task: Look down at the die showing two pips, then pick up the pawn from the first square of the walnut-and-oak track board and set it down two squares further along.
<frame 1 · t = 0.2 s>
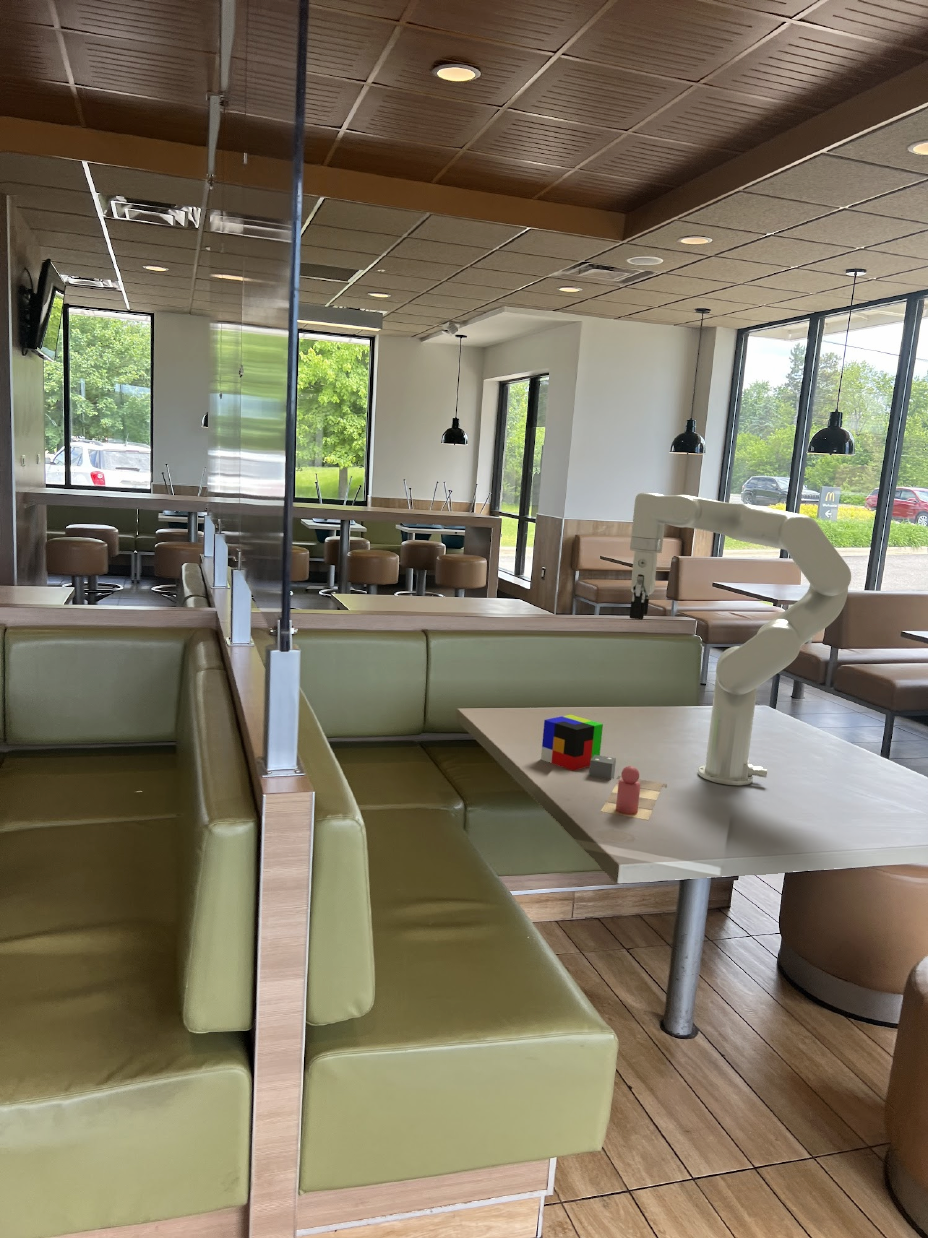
hand: (638, 616, 220), 36 cm above the table, tool pointing down, fingers open, 9 cm apart
pawn: (626, 811, 187), point 1 cm above the table, touching board
die: (601, 780, 209), on the table
puzzle toy: (569, 762, 222), on the table
board: (633, 802, 196), on the table
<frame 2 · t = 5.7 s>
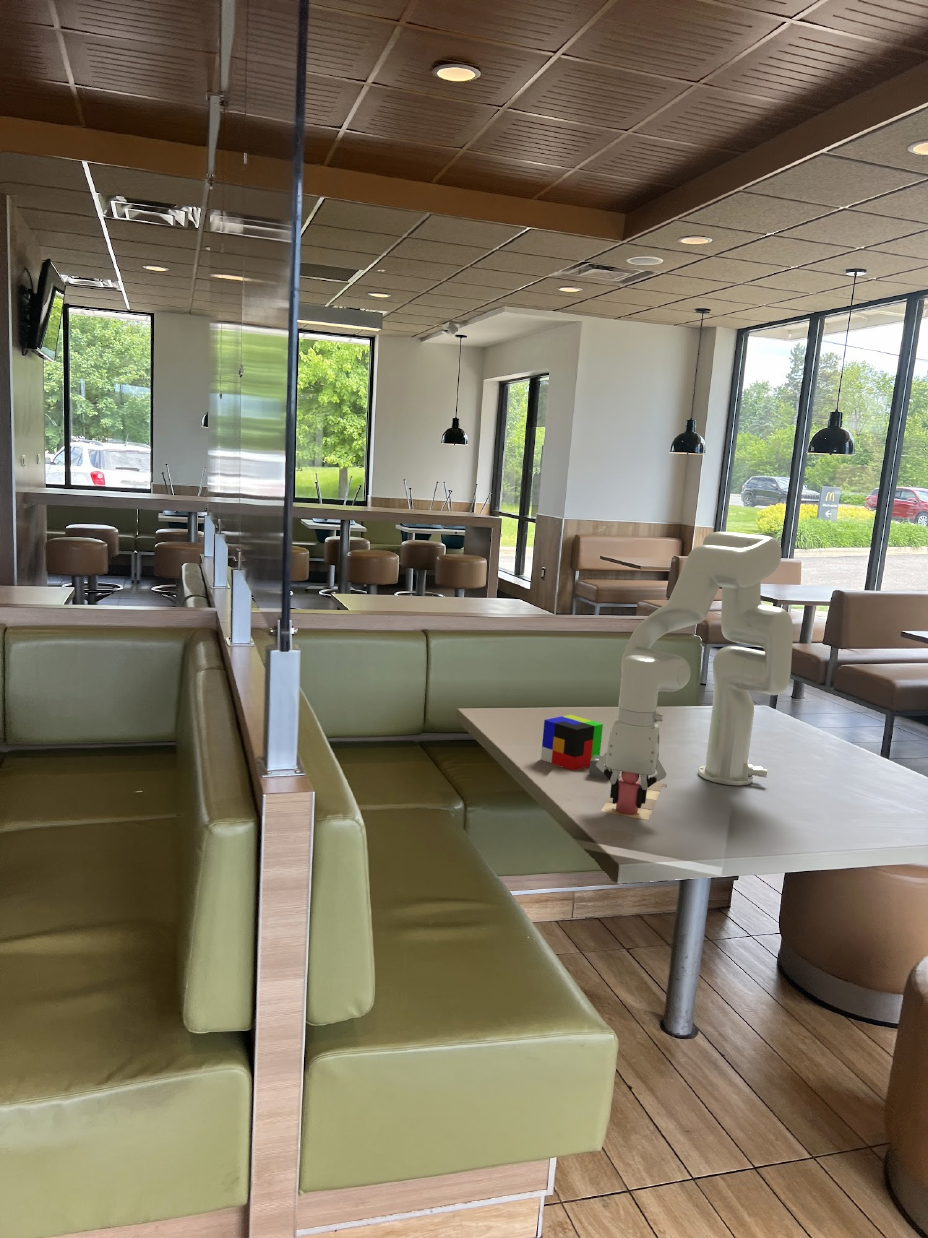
hand: (627, 803, 186), 3 cm above the table, tool pointing down, fingers closed on pawn, 4 cm apart
pawn: (626, 811, 187), point 1 cm above the table, touching board, gripper
everything else where it was.
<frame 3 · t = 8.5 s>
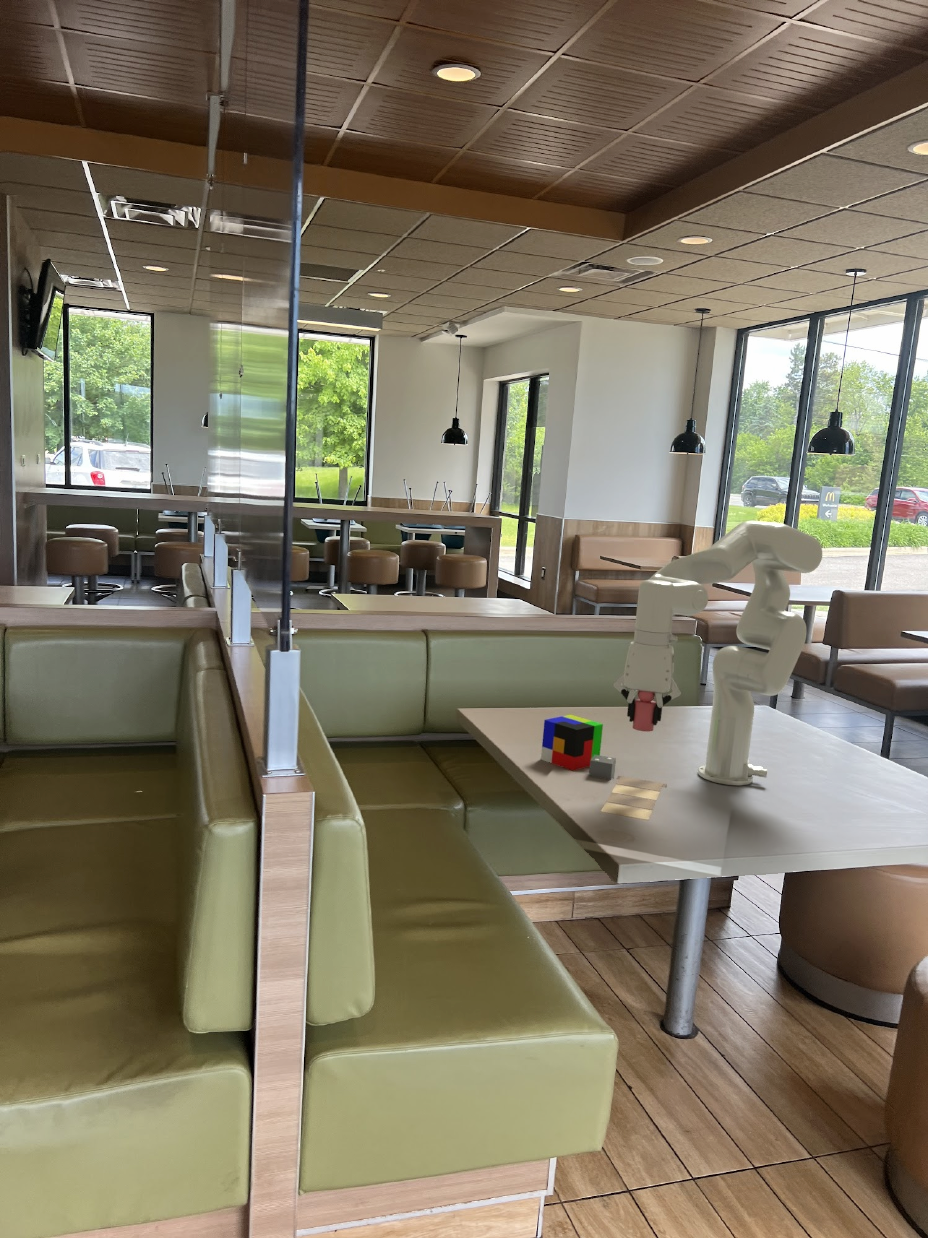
hand: (643, 721, 196), 17 cm above the table, tool pointing down, fingers closed on pawn, 4 cm apart
pawn: (642, 728, 197), point 15 cm above the table, touching gripper
everything else where it was.
when the fingers open (4 cm above the table, at t = 11.3 s): pawn stays where it is, resting on board.
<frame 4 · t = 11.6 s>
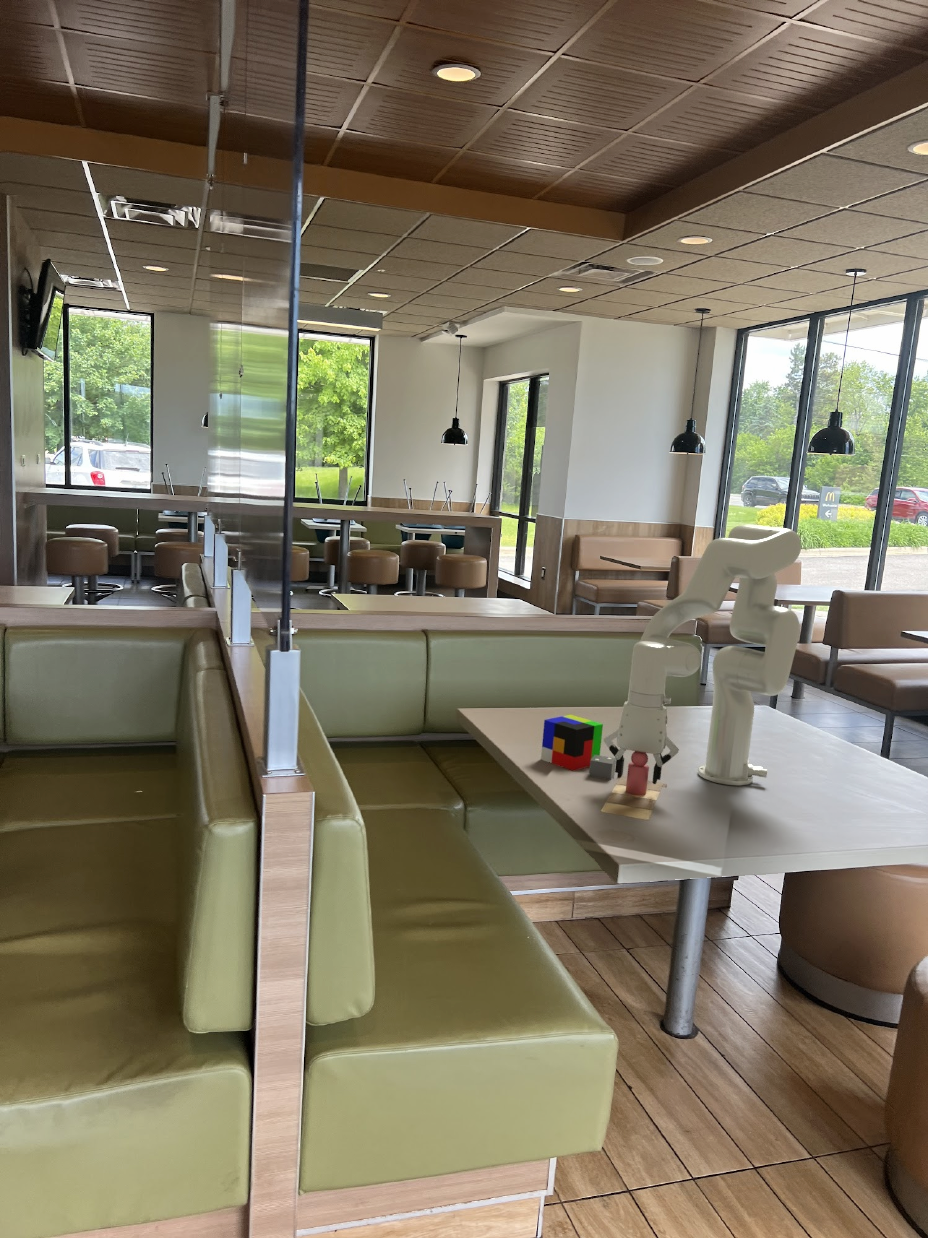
hand: (637, 778, 198), 4 cm above the table, tool pointing down, fingers open, 7 cm apart
pawn: (635, 792, 199), point 1 cm above the table, touching board
everything else where it was.
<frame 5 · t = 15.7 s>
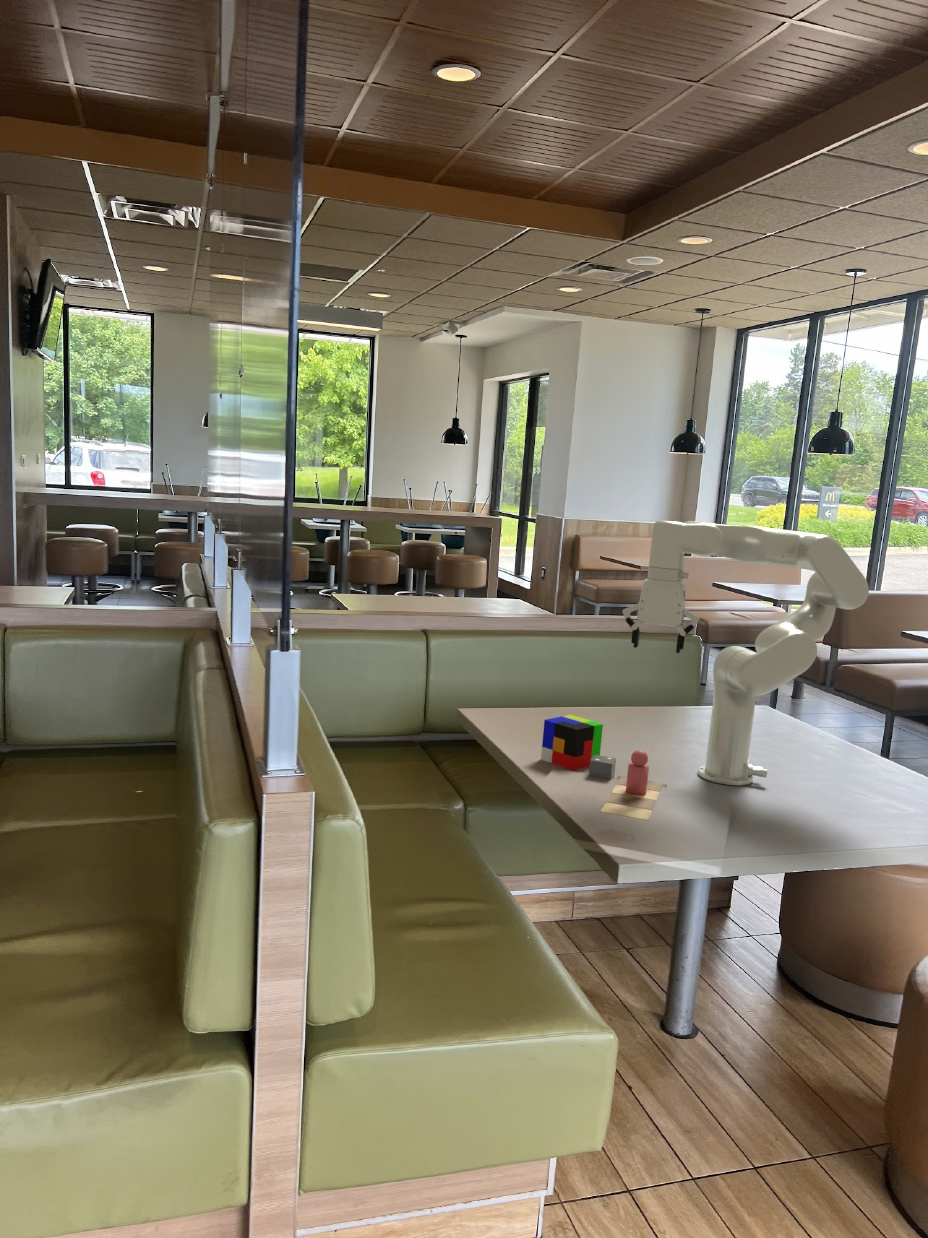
hand: (656, 649, 210), 30 cm above the table, tool pointing down, fingers open, 9 cm apart
nothing on the table moved.
at the end: pawn 0.0 cm from the target spot on the board, point 1.2 cm above the board's base; pawn tilted 0°; the gripper is holding nothing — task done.
